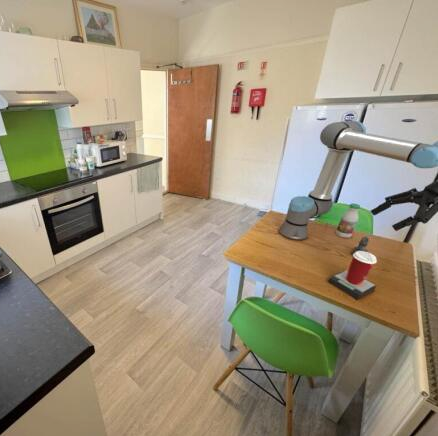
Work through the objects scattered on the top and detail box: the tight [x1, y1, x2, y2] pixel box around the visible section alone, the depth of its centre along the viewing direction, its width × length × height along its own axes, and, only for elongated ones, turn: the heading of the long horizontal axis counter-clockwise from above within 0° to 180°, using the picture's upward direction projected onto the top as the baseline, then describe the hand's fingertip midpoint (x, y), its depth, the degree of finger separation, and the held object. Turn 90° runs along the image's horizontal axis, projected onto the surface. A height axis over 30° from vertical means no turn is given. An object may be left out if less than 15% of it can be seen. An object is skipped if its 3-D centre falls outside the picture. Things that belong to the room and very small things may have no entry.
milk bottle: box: [335, 203, 361, 239], centre depth 140 cm, size 8×8×20 cm
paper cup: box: [346, 251, 378, 285], centre depth 102 cm, size 8×8×14 cm
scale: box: [327, 269, 377, 300], centre depth 106 cm, size 12×12×3 cm
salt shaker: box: [351, 235, 370, 256], centre depth 124 cm, size 6×6×12 cm
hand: (382, 220), depth 100 cm, fingers open, 13 cm apart
